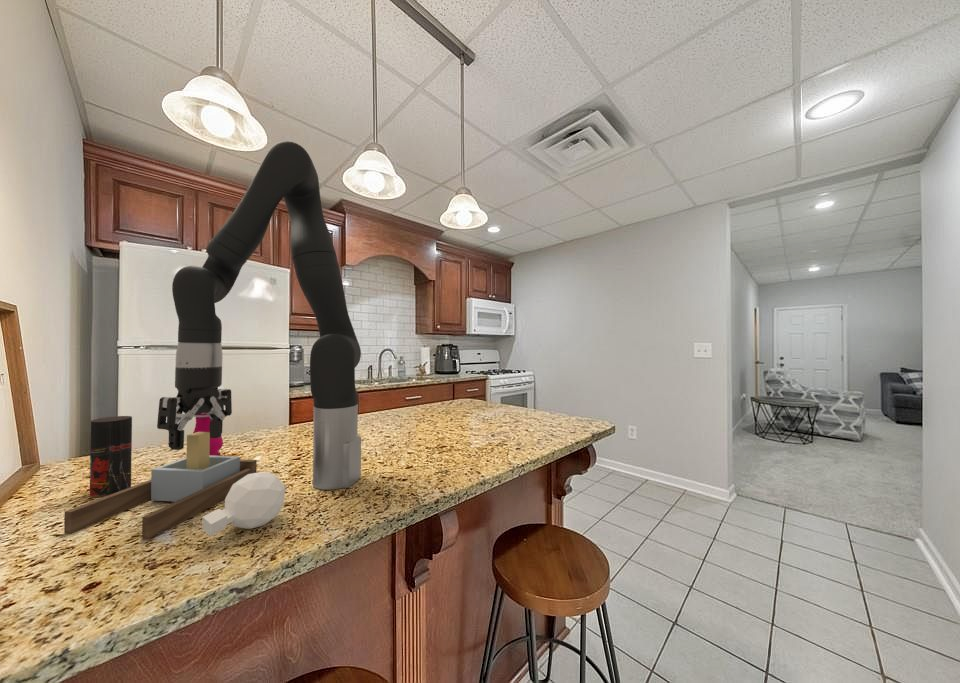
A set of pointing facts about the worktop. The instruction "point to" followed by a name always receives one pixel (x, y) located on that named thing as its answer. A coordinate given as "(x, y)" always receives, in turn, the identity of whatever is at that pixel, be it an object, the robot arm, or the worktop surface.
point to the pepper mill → (204, 426)
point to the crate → (192, 470)
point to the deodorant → (110, 455)
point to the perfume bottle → (248, 503)
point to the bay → (159, 518)
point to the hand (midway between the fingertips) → (197, 443)
